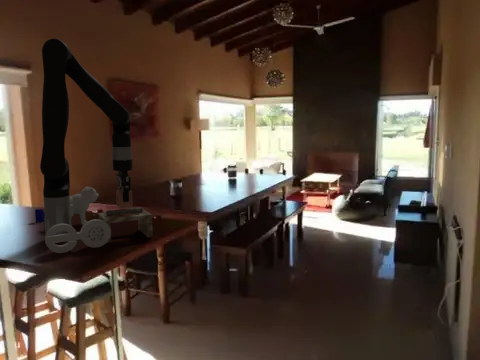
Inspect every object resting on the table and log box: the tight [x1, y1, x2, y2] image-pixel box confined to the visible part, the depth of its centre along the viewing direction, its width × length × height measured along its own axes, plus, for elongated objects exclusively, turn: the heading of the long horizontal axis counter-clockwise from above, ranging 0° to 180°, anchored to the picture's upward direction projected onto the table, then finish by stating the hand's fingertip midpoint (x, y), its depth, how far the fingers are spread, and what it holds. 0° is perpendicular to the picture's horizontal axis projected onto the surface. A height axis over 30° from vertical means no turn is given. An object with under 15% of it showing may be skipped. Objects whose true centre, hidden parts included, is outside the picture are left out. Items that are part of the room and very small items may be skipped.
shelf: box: [97, 206, 154, 244], centre depth 164 cm, size 18×14×11 cm
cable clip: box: [34, 208, 45, 223], centre depth 196 cm, size 12×4×6 cm, turn 173°
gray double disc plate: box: [44, 218, 112, 254], centre depth 146 cm, size 22×2×10 cm, turn 123°
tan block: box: [115, 189, 134, 209], centre depth 163 cm, size 5×6×7 cm
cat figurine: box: [43, 186, 101, 227], centre depth 182 cm, size 25×10×17 cm, turn 129°
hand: (124, 200), depth 163 cm, fingers closed on tan block, 5 cm apart
